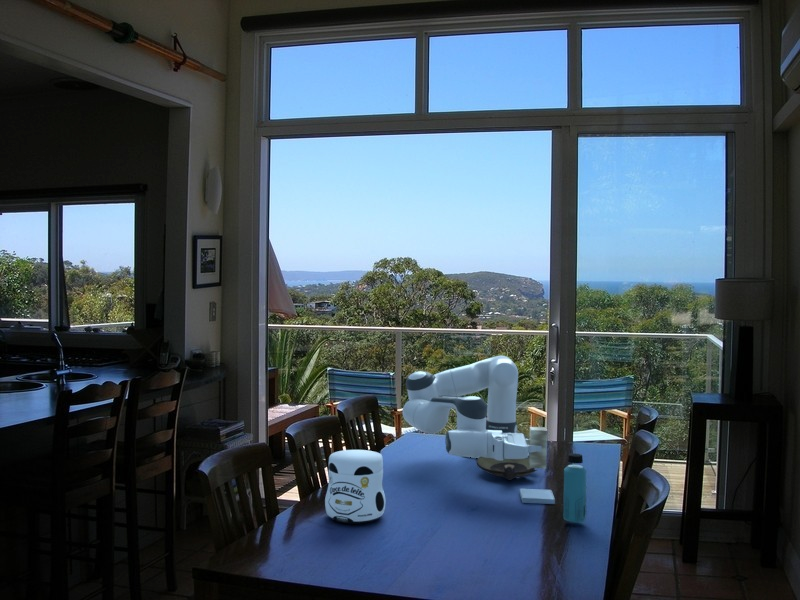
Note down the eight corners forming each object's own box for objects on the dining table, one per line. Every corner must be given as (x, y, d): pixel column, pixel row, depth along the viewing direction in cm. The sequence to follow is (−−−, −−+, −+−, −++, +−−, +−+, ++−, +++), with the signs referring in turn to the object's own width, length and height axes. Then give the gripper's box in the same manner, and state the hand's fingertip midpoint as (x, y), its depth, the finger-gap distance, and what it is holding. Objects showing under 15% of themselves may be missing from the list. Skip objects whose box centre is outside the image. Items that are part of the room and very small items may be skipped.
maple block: (530, 468, 225) (530, 430, 225) (528, 464, 230) (529, 426, 230) (546, 468, 225) (547, 430, 225) (544, 464, 230) (545, 427, 229)
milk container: (330, 530, 196) (331, 465, 195) (320, 510, 213) (321, 450, 212) (391, 526, 201) (393, 461, 200) (377, 506, 217) (378, 447, 217)
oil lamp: (548, 471, 261) (549, 450, 261) (521, 492, 235) (522, 468, 235) (490, 462, 272) (491, 442, 272) (459, 481, 246) (459, 459, 245)
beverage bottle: (586, 529, 201) (588, 457, 200) (562, 527, 202) (564, 456, 201) (585, 521, 207) (587, 452, 206) (561, 519, 208) (563, 450, 208)
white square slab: (522, 502, 223) (522, 497, 223) (519, 493, 233) (519, 488, 233) (554, 504, 222) (554, 499, 222) (551, 494, 232) (551, 489, 232)
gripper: (495, 446, 239) (537, 448, 238) (497, 462, 219) (543, 464, 217) (495, 427, 239) (537, 429, 238) (497, 441, 219) (544, 443, 217)
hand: (540, 445), depth 227 cm, fingers closed on maple block, 5 cm apart
